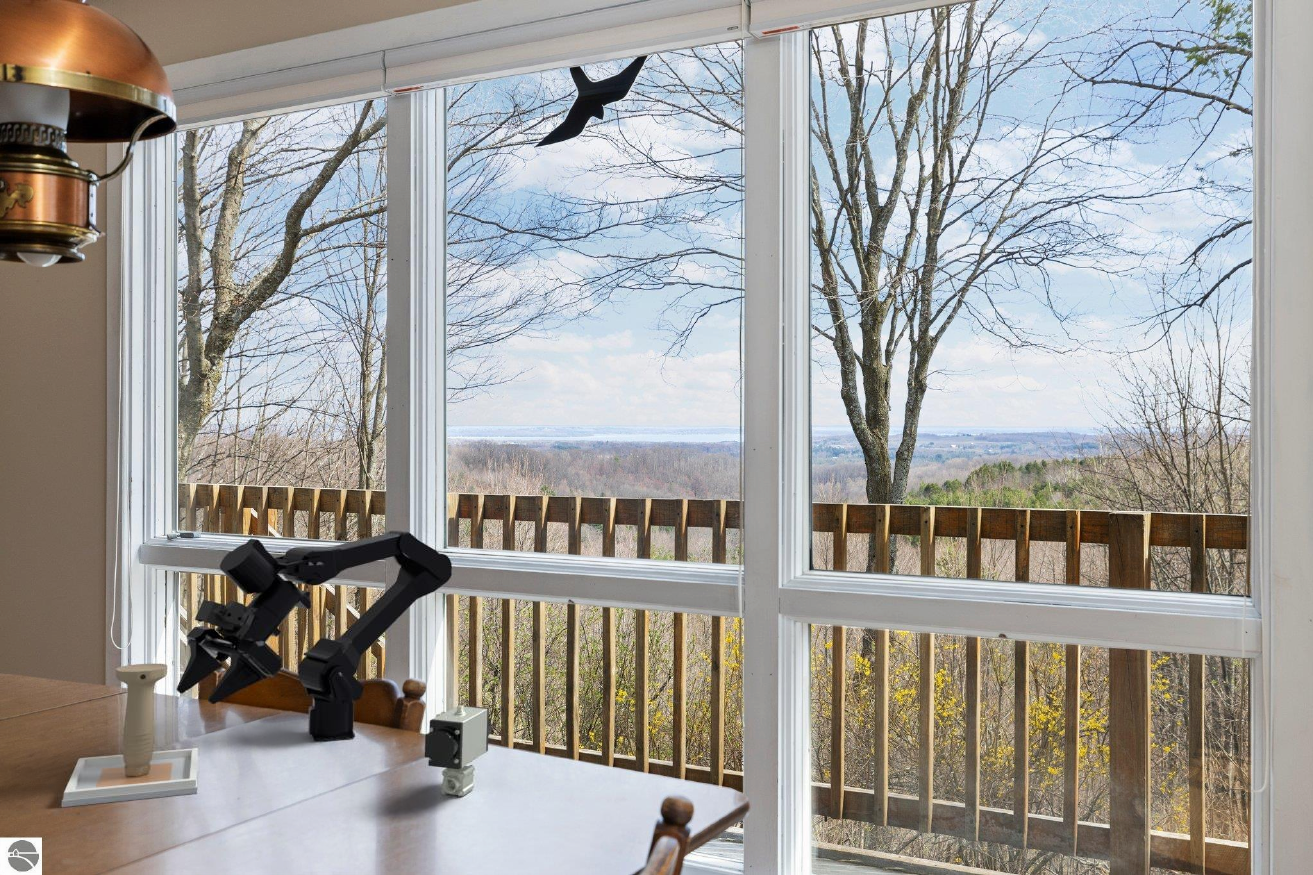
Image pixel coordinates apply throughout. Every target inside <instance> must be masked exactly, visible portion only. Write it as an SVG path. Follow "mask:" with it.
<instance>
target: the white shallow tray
mask: <svg viewBox="0 0 1313 875" xmlns="http://www.w3.org/2000/svg"><path fill="white" fill-rule="evenodd" d="M198 752H199V748H198V747H195V748H185V749H171V750H170V749H169V750H159V751H153V755H152V759H151V761H150V765H151V767H150V772H149V773H148V774H146V775H142V776H139V777H135V776H130V777H128V776H126V775H125V767H124V765H126V764H125V763H124V758H123V754H113V755H104V756H103V755H101V756H90V757H79V758H78V760H77V762H76V765H75V767H74V770H73V772H72V774H71V776H70V778H69V781H68V782H67V785H66V787H65V790H64V791H63V797H62V800H61V808H68V807H69V808H70V807H77V806H84V805H85V806H87V805H95V804H98V805H99V804H106V803H117V802H127V801H134V800H135V801H136V800H145V799H155V798H164V797H166V798H167V797H175V796H185V795H192V794H193V795H194V794H197V793H198V779H199V768H200V767H199V765H200V764H199V763H200V754H198Z"/></svg>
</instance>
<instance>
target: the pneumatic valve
mask: <svg viewBox="0 0 1313 875" xmlns="http://www.w3.org/2000/svg"><path fill="white" fill-rule="evenodd" d="M491 732H492V722H491V718H490V708H489V707H482V706H474V705H463V704H459V705H457V706H456V707H454V708H451V709H450V710H448V711H441V712H440V713H436V715H435V717H434V718H432V719H430V720H429V731H428V733H426V734H425V735H424V758H428V766H429V767H433V768H434V767H435V768H444V769H443V770H442V772H441V775H442V776H443V778H442V784H441V786H442V788H441V794H442V795H444V794H446V795H448V794H450V795H451V796H452V795H453V796H455V795H458V797H460V796H463V797H464V796H465V795H467V794H469V793H470V792H472V791H473V790H474V789H473V788H475V784H474V776H475V774H474V772H475V770H476V768H475V766H474V765H473V764H470V763H473V761H474V760H476V759H478V758H479V757H481V756H482V755H484V754H486V753H488V751H489V736H490V734H491ZM468 764H470V765H468ZM472 789H473V790H472Z"/></svg>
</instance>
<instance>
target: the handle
mask: <svg viewBox="0 0 1313 875" xmlns="http://www.w3.org/2000/svg"><path fill="white" fill-rule="evenodd" d="M167 674H168V665H167V664H166V663H165V664H164V663H139V664H138V663H137V664H130V665H129V664H128V665H123V666H119V667H116V672H115V677H116V679H117V680H118V681H120V682H121V683H124V684H125V685H127V696H126V697H127V698H126V707H125V713H124V714H125V716H124V725H123V731H122V732H123V733H122V755H123V758H124V763H125V764H126V765H124V767H125V775H126V776H128V777H130V776H135V777H139V776H142V775H146V774H148V773H149V772H150V767H151V765H150V761H151V759H152V755H153V752H154V750H155V749H154V748H155V738H156V737H155V734H156V732H155V731H156V727H155V726H156V724H155V719H156V718H155V687H156V683H158V682H159V681H161V680H162V679H163V678H165V677H166V676H167Z"/></svg>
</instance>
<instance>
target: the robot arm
mask: <svg viewBox="0 0 1313 875" xmlns="http://www.w3.org/2000/svg"><path fill="white" fill-rule="evenodd" d="M389 558H393V559H394V562H395V563H396V565H398V566H399V567H400V568H399V570H398V573H397V577H396V580H395V582H394V583H393V584H392V586H390V587H389V589H387V590H386V591H385V593H383V594H382V595H381V596H380V597H379V598H378V599H377V600H376V601H375V602H374V603H372V605H371V606H370V607H369V608H367V610H366V611H365V612H364V613H363V614H362V615H361V616H360V617H359V618H358V619H356V621H355V622H353V623H352V625H351V626H349V627H348V628H347V630H346V631H344V632H343V633H342V635H340V636H339V637H338V638H336V639H334V640H333V639H330V638H326V637H321V638H319V639H318V640H317V641H316V642H315V643H314V645H313V646H312V647H311V649H309V650H307V651H306V652H304V653H303V654H302V655H303V656H304V657H303V658H302V660H300V663H299V664H298V672H297V674H298V680H299V682H300V684H302V686H303V687H304V690H305V693H306V696H308V697H312V705H311V706H309V707H308V725H307V726H308V728H307V729H308V735H310V736H311V738H312V740H313V741H314V742H319V741H320V742H321V741H332V740H342V739H343V740H345V739H353V738H356V733H355V732H354V717H355V716H354V715H355V714H354V713H355V712H354V711H355V701H359V700H361V699H362V696H363V693H364V689H365V686H364V685H363V684H362V683H361V682H360V681H359V680H358V679H357V678H356V677H355V675H356V673H357V672H358V669H359V665H360V662H361V658H362V656H363V655H364V654H365V653H366V652H367V651H368V650H369V649H370V648H371V647H372V646H373V645H374V644H375V643H376V641H378V640H379V639H380V638H381V637H382V636H383V635H384V634H385V632H386V631H388V629H390V627H391V626H392V625H393V624H395V622H396V621H397V620H398V619H399V618H400V617H401V616H402V615H403V614H404V613H405V612H406V611H407V610H408V609H409V608H410V607H411V606H413V604H414V603H415V602H416V601H417V600H419V599H421V598H423V597H426V596H427V595H429V594H432V593H434V592H436V591H438V590H439V589H441V588H442V587H443V586H444V585H445V584H447V583H448V582H449V581H450V579H451V578H452V574H453V573H452V570H453V565H452V560H451V558H449V556H448V555H446V554H444V553H440V552H438V551H437V550H436V549H434V548H433V547H431V546H429V545H427V544H426V543H424V542H422V541H421V540H419V539H418V538H417V537H416V536H415V535H413V534H412V533H410V532H409V531H405V530H404V531H402V530H390V531H388V532H386V533H382V534H378V535H374V536H371V537H366V538H362V539H356V540H354V541H350V542H346V543H342V544H341V543H340V544H337V545H331V546H330V545H329V546H296V547H291V548H290V549H287V551H286V552H285V554H284V555H279V556H276V557H274V556H273V555H272V554H271V553H270V552H269V551H268V550H267V549H266V547H265V546H264V544H263V543H262V542H261V541H260V540H259V539H255V538H250V539H248V541H246V543H244V544H241V545H239V546H237V547H236V548H234V549H233V550H231V551H229V552H228V553H227V554H225V556H224V557H223V559H222V560H221V562H220V564H219V569H220V570H219V571H221V572H222V573H223V574H225V576H226V577H227V578H228V579H229V580H231V581H232V582H233V584H234V585H236V586H237V588H239V589H240V590H241V591H242V592H243V594H245V595H252V594H255V595H256V596H254V598H253V599H252V600H251V601H250V602H249V603H248V605H245V604H243V603H241V602H239V601H235V600H229V601H228V602H227V603H226V604H223V603H219V602H216V601H211V600H207V599H203V600H202V603H201V604H200V607H199V608H198V611H197V612H196V616H195V617H194V620H195V621H197V622H201V623H202V622H204V623H207V624H210V625H213V626H215V627H216V628H215V629H214V628H212V627H208V626H205V625H200V626H199V625H198V626H194V627H193V628H192V629H191V630H190V631H189V632H188V634H187V635H186V636H185V637H186V639H187V645H188V647H189V651H190V657H189V660H188V662H187V665H186V667H185V670H184V671H183V673H182V676H181V678H180V680H179V682H178V684H177V686H176V691H177V692H178V693H179V694H181V695H182V694H184V693H186V692H188V691H189V690H190V689H192V688H193V687H194V686H196V685H197V684H199V683H200V682H202V681H203V680H204V679H206V678H207V677H209V675H212V673H214V672H215V671H216V670H219V669H220V668H222V666H223V664H222V663H223V662H224V661H226V660H228V659H229V658H230V663H229V667H228V668H227V670H226V671H225V673H224V674H223V676H222V677H221V679H220V680H219V682H218V683H217V685H215V687H214V689H213V690H212V692H211V693H210V695H209V696H208V698H207V701H208V702H209V703H210V704H211V705H215V704H217V703H219V702H220V701H222V700H224V699H226V698H228V697H230V696H232V695H234V694H236V693H238V692H239V691H242V690H243V689H245V688H248V687H250V686H253V685H254V684H256V683H258V682H260V681H265V680H267V679H268V677H270V678H275V676H276V675H277V674H278V673H279V671H280V670H281V669H282V667H283V665H282V664H283V659H282V657H281V656H280V655H279V654H278V653H276V651H274V649H273V648H272V647H271V646H270V645H269V644H267V641H268V640H269V639H270V638H271V636H272V637H276V638H278V637H279V635H280V634H281V633H282V631H281V630H280V629H279V627H280V625H281V624H282V623H283V622H284V621H285V620H286V618H287V617H288V616H289V615H290V613H292V611H294V609H295V607H297V608H300V609H305V610H306V609H307V610H310V609H311V608H312V602H311V601H312V600H311V599H310V597H311V596H310V595H311V592H310V591H308V590H307V591H306V590H301V589H300V588H299V587H298V586H297V584H301V585H307V586H319V585H322V584H325V583H326V582H328V581H330V580H332V579H334V578H336V577H337V576H338V575H339V574H341V572H343V571H345V570H349V569H352V568H355V567H358V566H363V565H366V564H370V563H374V562H378V561H380V560H381V561H382V560H384V559H389ZM280 575H283V578H282V577H281V576H280ZM285 579H286V580H285ZM295 583H297V584H295Z"/></svg>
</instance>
